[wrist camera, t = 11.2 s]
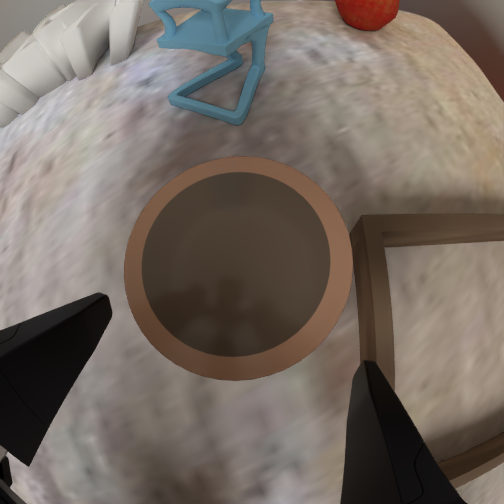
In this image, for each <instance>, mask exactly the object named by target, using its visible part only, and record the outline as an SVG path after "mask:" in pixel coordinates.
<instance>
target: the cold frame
mask: <svg viewBox="0 0 504 504" xmlns="http://www.w3.org/2000/svg"><path fill="white" fill-rule="evenodd" d="M350 241H351V247H352V256H353V264H354V273H355V283H356V293H357V305H358V318H359V335H360V360H361V362H362V361H363V360H371V361H375V362H376V363H377V364H378V366H379V368H380V369H381V371H382V372H383V374H384V376H385V377H386V379H387V380H388V382H389V384H390V385H391V387H392V388H393V390H395V365H394V336H393V320H392V308H391V297H390V288H389V279H388V271H387V264H386V257H385V251H384V247H401V246H419V245H436V244H454V243H471V242H488V241H504V215H494V214H390V215H361V217H360V219H359V220H358V222H357V223H356V225H355V227H354V228H353V230H352V231H351V233H350ZM503 462H504V432H503V433H501V434H499V435H498V436H496V437H494V438H492V439H490V440H488V441H486V442H484V443H483V444H481V445H479V446H476V447H474V448H472V449H470V450H468V451H466V452H464V453H461V454H459V455H457V456H454V457H452V458H450V459H447V460H445V461H442V462H440V463H437V464H438V465H439V467H440V468H441V470H442V471H443V473H444V474H445V476H446V477H447V478H448V480H449V481H450V483H451V484H452V486H453V487H454V488H457V487H459V486H461V485H463V484H465V483H467V482H469V481H471V480H473V479H475V478H477V477H479V476H481V475H483V474H484V473H486V472H488V471H490V470H491V469H493V468H495V467H497V466H498V465H500V464H501V463H503Z"/></svg>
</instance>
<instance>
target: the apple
mask: <svg viewBox="0 0 504 504" xmlns="http://www.w3.org/2000/svg"><path fill="white" fill-rule="evenodd" d="M335 2H336V5H337V8H338V11H339V13H340V15H341V16H342V18H343V19H344V21H345V22H346V23H348V24H349V25H351V26H352V27H354V28H357V29H360V30H365V31H370V30H379V29H381V28H382V27H383V26H385V25H386V24H388V23H389V22H391V21H392V20H393V19H394V18H395V17H396V15H397V13H398V8H399V0H335Z"/></svg>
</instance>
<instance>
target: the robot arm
mask: <svg viewBox="0 0 504 504" xmlns="http://www.w3.org/2000/svg"><path fill="white" fill-rule="evenodd" d="M111 318H112V308H111V304H110V300H109V297H108V296H107V295H105V294H103V293H95V294H93V295H90V296H87V297H85V298H82V299H79V300H77V301H74V302H72V303H69V304H67V305H64V306H61V307H59V308H56V309H54V310H51V311H49V312H46V313H44V314H41V315H39V316H36V317H33V318H31V319H28V320H26V321H23V322H22V323H18V324H16V325H13V326H11V327H8V328H6V329H3V330H0V504H26V503H25V502H24V501H23V500H22V499H21V498H20V497H19V496H18V495H16V494H15V493H14V492H13V491H12V490H11V489H10V486H11V485H12V477H11V472H10V466H9V460H8V457H7V456H6V454H7V452H9V453H11V454H12V455H13V456H14V457H16V458H17V459H18V460H20V461H21V462H22V463H24V464H25V465H27V466H28V467H29V466H30V464H31V462H32V460H33V458H34V456H35V454H36V452H37V450H38V448H39V446H40V444H41V442H42V440H43V438H44V436H45V434H46V432H47V430H48V428H49V426H50V424H51V423H52V421H53V419H54V417H55V415H56V414H57V412H58V410H59V408H60V406H61V405H62V403H63V401H64V399H65V398H66V396H67V394H68V393H69V391H70V389H71V388H72V386H73V384H74V383H75V381H76V379H77V378H78V376H79V374H80V373H81V371H82V369H83V368H84V366H85V365H86V363H87V361H88V360H89V358H90V357H91V355H92V354H93V352H94V350H95V348H96V347H97V345H98V343H99V341H100V339H101V337H102V335H103V333H104V331H105V329H106V327H107V325H108V324H109V322H110V320H111ZM340 504H467V503H466V502H465V501H464V500H463V499H462V498H461V497H460V495H459V494H458V493H457V491H456V490H455V488H454V487H453V486H452V484H451V483H450V481H449V480H448V478H447V477H446V476H445V474H444V473H443V471H442V470H441V468H440V467H439V465H438V464H437V462H436V461H435V459H434V457H433V456H432V454H431V452H430V451H429V449H428V447H427V446H426V444H425V442H423V439H422V437H421V435H420V434H419V432H418V430H417V428H416V427H415V425H414V423H413V422H412V420H411V418H410V416H409V415H408V413H407V411H406V410H405V408H404V406H403V405H402V403H401V401H400V400H399V398H398V397H397V395H396V393H395V392H394V390H393V388H392V387H391V385H390V384H389V382H388V380H387V379H386V377H385V376H384V374H383V372H382V371H381V369H380V368H379V366H378V364H377V363H376V362H375V361H371V360H363V361H362V362H361V364H360V366H359V368H358V369H357V371H356V373H355V375H354V377H353V381H352V389H351V397H350V404H349V411H348V418H347V430H346V449H345V463H344V475H343V485H342V494H341V503H340Z"/></svg>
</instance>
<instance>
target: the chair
mask: <svg viewBox="0 0 504 504" xmlns="http://www.w3.org/2000/svg"><path fill="white" fill-rule="evenodd" d="M231 1H232V0H152V1H150V3H149V6H150V7H151V8H152V9H153V11H154V12H155V13H156V14H157V15H158V16H159V17H160V19H161V20H162V21H163V23H164V26H165V34H164V35H162V36H161V37H160V38H158V39H157V42H158V44H159V47H160V48H169V49H191V50H198V51H201V52H205V53H209V54H213V55H219V56H224V57H227V58H228V60H226V61H225V62H223V63H221V64H219V65H217V66H216V67H214V68H212V69H210V70H208V71H206V72H205V73H203V74H201V75H199V76H197V77H196V78H194V79H192V80H190V81H189V82H187V83H185V84H184V85H182V86H180V87H179V88H177V89H176V90H175V91H173V92H172V93H171V94H170V95H169V96H168V99H169V101H170V103H171V105H174V106H177V107H181V108H184V109H187V110H191V111H194V112H197V113H201V114H204V115H207V116H210V117H213V118H216V119H219V120H222V121H225V122H228V123H231V124H234V125H241V124H242V123H243V121H244V120H245V118H246V116H247V114H248V111H249V108H250V105H251V102H252V99H253V96H254V93H255V91H256V88H257V85H258V82H259V79H260V77H261V75H262V73H263V72H264V70H265V63H264V55H265V45H266V38H267V33H268V29H269V26H270V24H271V23H273V13H266V12H264V11H263V10H262V7H261V0H251V1H250V9H251V11H245V10H235V9H228V8H226V6H227V5H228V4H229V3H230V2H231ZM181 7H186V8H196V9H201V11H199V12H198V13H196V14H195V15H193V16H192V17H191V18H189V19H188V20H186V21H185V22H183V23H182V24H180V25H179V26H177V27H176V23H175V21H174V19H173V18H172V17H171V16H170V15H169V14H168V13H167V12H166V11H165V10H168V9H172V8H181ZM250 41H251V43H252V51H253V53H252V66H251V68H250V70H249V72H248V75H247V78H246V81H245V84H244V87H243V90H242V93H241V96H240V100H239V103H238V106H237V109H236V110H235V111H229V110H226V109H223V108H220V107H217V106H213V105H210V104H207V103H203V102H200V101H197V100H193V99H190V98H186V97H185V96H186V95H188V94H190V93H192V92H193V91H195V90H197V89H199V88H200V87H202V86H204V85H206V84H208V83H210V82H211V81H213V80H215V79H217V78H219V77H221V76H223V75H225V74H227V73H229V72H230V71H232V70H234V69H236V68H238V67H239V66H241V65H242V64H243V60H242V56H241V55H240V54H239V53H238V52H237V51H236V49H238V48H239V47H240V46H241V45H243V44H245V43H247V42H250Z"/></svg>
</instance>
